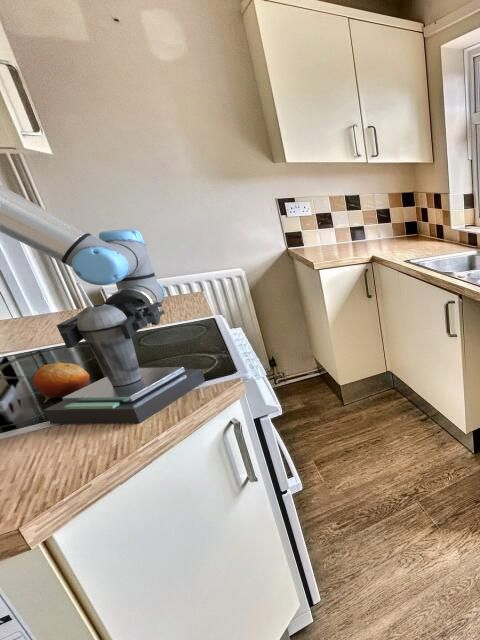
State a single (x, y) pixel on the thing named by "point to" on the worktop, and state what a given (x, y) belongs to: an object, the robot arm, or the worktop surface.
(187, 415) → the worktop surface
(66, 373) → the fruit
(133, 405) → the scale
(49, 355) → the worktop surface
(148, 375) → the scale pan
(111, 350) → the beverage cup
